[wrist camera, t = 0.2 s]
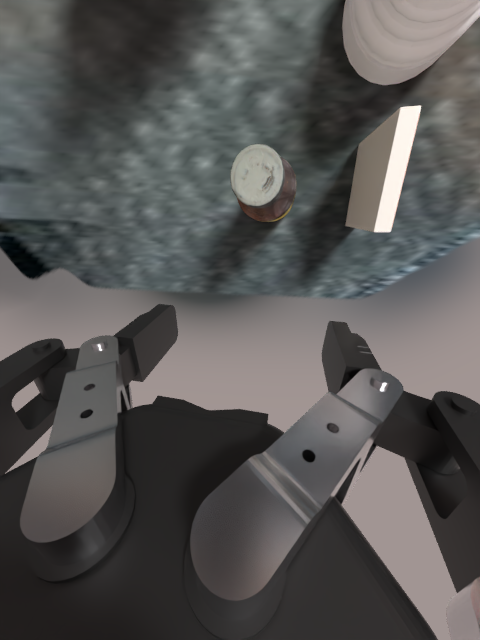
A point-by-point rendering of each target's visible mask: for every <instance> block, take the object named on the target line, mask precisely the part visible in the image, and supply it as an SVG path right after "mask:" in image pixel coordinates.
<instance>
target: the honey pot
mask: <svg viewBox="0 0 480 640" xmlns="http://www.w3.org/2000/svg"><path fill="white" fill-rule="evenodd" d="M479 16H480V0H346V1H345V5H344V14H343V23H342V31H343V41H344V48H345V51H346V54H347V56H348V59H349V62H350V64H351V65H352V66H353V68H354V69H355V70H356V72H357V73H358V75H360V76H361V77H363V78H364V79H366V80H367V81H369V82H371V83H376V84H380V85H391V84H399V83H402V82H404V81H406V80H409V79H411V78H413V77H416V76H417V75H418V74H420V73H421V72H423V71H424V70H425V69H427V68H428V67H429V66H431V65H432V64H433V63H434V62H435V61H436V60H437V59H438V58H439V57H440V56H441V55H442V54H443V53H444V52H445V51H446V50H447V49H448V48H449V47H450V46H451V45H452V44H453V43H454V42H455V41H456V40H457V39H458V38H459V37H461V35H462V34H463V33H464V32H465V31H466V30H467V29H468V28H469V27H470V26H471V25H472V24H473V23H474V22H475V21H476V20H477V19H478V18H479Z"/></svg>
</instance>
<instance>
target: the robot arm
mask: <svg viewBox="0 0 480 640" xmlns="http://www.w3.org/2000/svg"><path fill="white" fill-rule="evenodd" d="M177 336H178V328H177V320H176V312H175V308H174V306H173V305H164V304H158V305H157V306H156V307H154V308H153V309H152V310H151V311H149V312H147V313H145V314H143V315H140V316H139V317H137V318H136V319H135V320H134V321H132V322H131V323H130V324H129V325H127V326H126V327H125V328H123V329H122V330H120V331H119V332H118V333H116V334H115V335H114V336H99V337H96V338H92V339H90V340H88V341H86V342H85V343H83V344H82V345H81V347H80V348H76V349H65V347H64V345H63V342H62V341H61V340H60V339H45V340H41V341H37V342H35V343H32V344H30V345H28V346H26V347H24V348H22V349H21V350H19V351H17V352H16V353H14V354H12V355H10V356H9V357H7V358H5V359H4V360H2V361H0V640H438V639H437V638H436V636H435V634H434V632H433V631H432V629H431V628H430V626H429V625H428V623H427V622H426V621H425V619H424V618H423V616H422V615H421V613H420V612H419V611H418V609H417V608H416V607H415V605H414V604H413V602H412V601H411V600H410V598H409V597H408V596H407V594H406V593H405V592H404V590H403V589H402V587H401V586H400V585H399V583H398V582H397V581H396V579H395V578H394V577H393V575H392V574H391V572H390V571H389V570H388V568H387V567H386V566H385V564H384V563H383V561H382V560H381V559H380V557H379V556H378V555H377V553H376V552H375V550H374V549H373V548H372V546H371V545H370V544H369V542H368V541H367V540H366V538H365V537H364V535H363V534H362V533H361V531H360V530H359V528H358V527H357V526H356V525H355V523H354V522H353V520H352V519H351V518H350V516H349V515H348V513H347V512H346V511H345V509H344V508H343V505H344V503H345V502H346V500H347V498H348V496H349V494H350V493H351V491H352V489H353V487H354V485H355V483H356V481H357V480H358V478H359V476H360V475H361V473H362V472H363V469H364V468H365V467H366V465H367V463H368V462H369V460H370V459H371V457H372V455H373V454H374V452H375V450H376V449H377V447H378V446H379V447H382V448H384V449H386V450H389V451H391V452H393V453H395V454H398V455H400V456H403V457H405V460H406V463H407V465H408V468H409V470H410V473H411V476H412V478H413V481H414V483H415V486H416V489H417V491H418V493H419V496H420V499H421V501H422V504H423V507H424V509H425V512H426V514H427V517H428V520H429V522H430V525H431V527H432V530H433V532H434V535H435V537H436V540H437V543H438V545H439V548H440V550H441V553H442V555H443V558H444V561H445V563H446V566H447V568H448V571H449V574H450V576H451V579H452V581H453V584H454V587H455V589H456V592H457V594H456V595H455V596H454V597H452V598H451V599H450V600H449V602H448V605H447V612H446V615H447V624H448V628H449V632H450V637H451V640H480V405H479V404H478V403H476V402H475V401H473V400H471V399H470V398H467V397H465V396H462V395H460V394H457V393H453V392H447V391H441V392H437V393H436V394H435V395H434V397H433V398H432V400H429V399H426V398H423V397H420V396H417V395H414V394H411V393H408V392H406V391H403V386H402V384H401V383H400V382H399V380H398V379H396V378H395V377H394V376H392V375H391V374H389V373H387V372H384V371H382V370H381V368H380V367H379V365H378V363H377V361H376V359H375V357H374V356H373V354H372V352H371V350H370V348H369V347H368V345H367V343H366V341H365V340H364V339H363V338H362V337H360V336H359V335H358V334H355V333H351V331H350V329H349V327H348V325H347V323H345V322H335V321H330V322H329V323H328V326H327V330H326V335H325V340H324V344H323V350H322V362H323V367H324V371H325V377H326V381H327V386H328V391H329V392H328V393H327V394H325V395H324V396H323V397H322V398H321V399H320V400H319V401H318V402H317V403H316V404H315V405H314V406H313V407H312V408H311V409H309V410H308V412H306V413H305V414H304V415H303V416H302V417H301V418H300V419H299V420H298V421H297V422H296V423H295V424H294V425H293V426H291V427H290V428H289V429H288V430H287V431H286V432H285V433H284V432H282V431H281V430H280V429H278V428H276V427H274V426H272V425H270V424H268V423H267V420H268V414H265V413H259V412H253V411H247V410H241V409H234V410H212V411H211V410H206V409H203V408H201V407H199V406H196V405H194V404H192V403H189V402H187V401H185V400H181V399H175V398H169V397H162V396H157V398H156V399H155V401H154V402H153V404H149V405H142V406H138V407H134V408H133V407H132V398H131V389H130V385H129V383H130V382H131V381H132V380H133V381H140V382H143V381H144V380H145V378H146V377H147V376H148V375H149V374H150V372H151V371H152V370H153V369H154V367H155V366H156V365H157V364H158V363H159V361H160V360H161V359H162V358H163V356H164V355H165V354H166V353H167V351H168V350H169V349H170V348H171V347H172V345H173V344H174V343H175V342H176V340H177ZM33 380H34V382H35V384H36V386H37V387H38V389H39V391H40V393H39V394H38V395H37V396H36V397H35V398H34V399H32V400H31V401H30V402H28V403H27V404H26V405H25V406H24V407H23V408H21V409H20V410H19V411H17V412H15V411H14V409H13V408H12V399H13V397H14V396H15V394H16V393H17V392H18V391H20V390H21V389H22V388H24V387H25V386H27V385H28V384H29V383H31V382H32V381H33ZM52 425H53V427H52V431H51V434H50V438H49V443H48V446H47V448H46V450H45V451H43V452H42V453H41V454H40V455H39V456H38V457H36V458H34V459H32V460H30V461H28V462H27V463H25V464H23V465H21V466H19V467H17V468H15V469H13V470H11V471H9V472H8V473H6V474H5V472H7V471H8V470H9V469H10V468H11V467H12V466H13V465H14V464H15V463H16V461H18V459H19V458H20V457H21V456H22V455H23V454H24V453H25V452H26V451H27V450H28V449H29V448H30V447H31V446H32V445H33V444H34V443H35V442H36V441H37V440H38V439H39V438H40V437H41V436H42V435H43V434H44V433H45V432H46V431H47V430H48V429H49V428H50V427H51V426H52Z"/></svg>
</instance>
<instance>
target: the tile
mask: <svg viewBox="0 0 480 640" xmlns="http://www.w3.org/2000/svg"><path fill="white" fill-rule="evenodd" d="M420 110H421V106H409V107H400V108H399V109H398V110H397V111H396V112H395V113H394V114H392V115H391V116H390V117H389V118H388V119H387V120H386V121H385V122H383V123H382V124H381V125H380V126H379V127H378V128H377V129H375V130H374V131H373V132H372V133H371V134H370V135H369V136H368V137H366V138H365V139H364V140H363V141H362V142H361V143H360V144H359V147H358V153H357V159H356V165H355V171H354V177H353V183H352V189H351V195H350V201H349V207H348V213H347V219H346V225H345V226H348V227H353V228H358V229H362V230H367V231H371V232H391V228H392V226H393V221H394V217H395V213H396V209H397V205H398V201H399V197H400V193H401V189H402V185H403V181H404V177H405V173H406V169H407V165H408V160H409V156H410V152H411V148H412V144H413V140H414V136H415V132H416V128H417V124H418V120H419V116H420Z"/></svg>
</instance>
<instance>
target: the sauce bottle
mask: <svg viewBox="0 0 480 640" xmlns="http://www.w3.org/2000/svg"><path fill="white" fill-rule="evenodd" d="M230 172H231V176H230V180H231V186H232V189H233V192H234V194H235V195H236V197H237V200H238V203H239V205H240V207H241V208H242V210H243V211H244V212H245V213H246V214H247V215H248V216H250V217H251V218H253V219H255V220H258V221H262V222H272V221H277V220H279V219H281V218H283V217H284V216H285V215H286V214H287V213H288V212H289V211H290V209H291V207H292V205H293V202H294V198H295V194H296V177H295V174H294V171H293V169H292V167H291V165H290V164H289V163H288V162H287V161H286V160H285V159H283V158H282V157H280V156H279V155H278V153H277V152H276V151H275V150H274V149H272V148H271V147H269V146H267V145H265V144H254V145H250V146H248V147H246V148H244V149H243V150H242V151H241V152H240V153H239V154H238V155H237V157H236V158H235V160H234V162H233V164H232V168H231V171H230Z"/></svg>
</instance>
